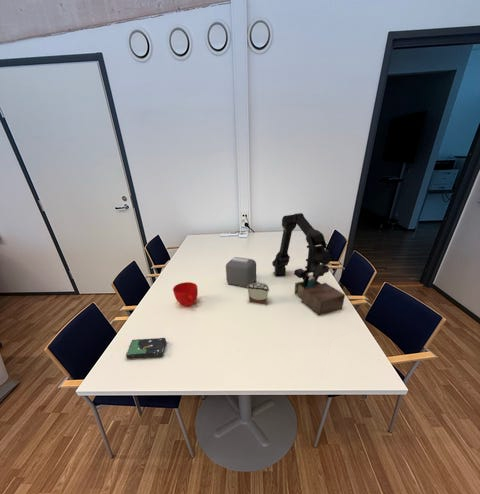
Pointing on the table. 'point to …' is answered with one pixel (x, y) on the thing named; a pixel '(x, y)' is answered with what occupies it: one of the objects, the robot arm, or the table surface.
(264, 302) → the food container
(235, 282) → the alarm clock
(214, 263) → the table surface
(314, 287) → the cabinet
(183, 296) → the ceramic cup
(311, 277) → the tea tin
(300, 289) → the drawer
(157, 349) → the disk drive
